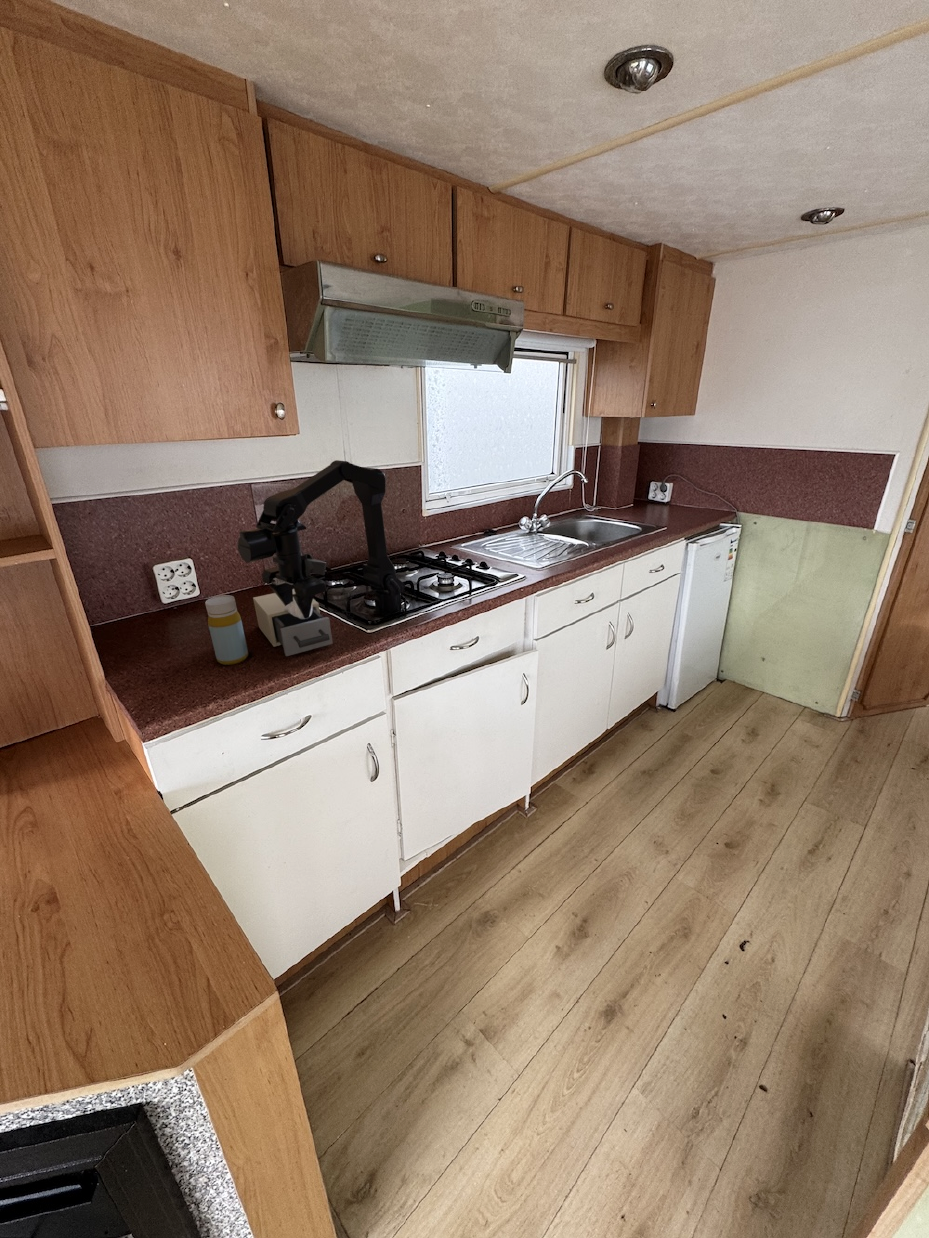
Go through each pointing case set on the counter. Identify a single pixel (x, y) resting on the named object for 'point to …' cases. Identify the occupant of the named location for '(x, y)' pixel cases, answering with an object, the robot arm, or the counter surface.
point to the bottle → (226, 630)
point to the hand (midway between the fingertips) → (298, 614)
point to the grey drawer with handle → (302, 632)
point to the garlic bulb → (296, 610)
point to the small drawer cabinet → (272, 613)
